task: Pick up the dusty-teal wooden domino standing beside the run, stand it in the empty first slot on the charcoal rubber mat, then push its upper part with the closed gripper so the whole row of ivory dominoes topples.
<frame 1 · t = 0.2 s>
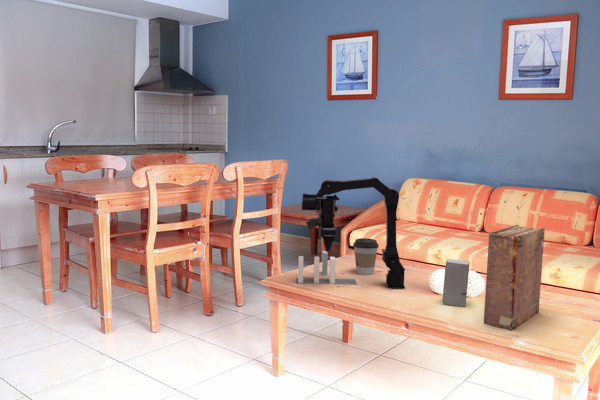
hand: (326, 249, 213), 15 cm above the table, fingers open, 9 cm apart
coffee cup: (364, 273, 233), on the table
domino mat: (325, 281, 218), on the table
book: (512, 318, 177), on the table
ivory domino 2: (332, 281, 217), resting on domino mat
teal domino: (324, 274, 230), on the table
ivory end domino: (300, 281, 217), resting on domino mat
ivory domino 3: (316, 281, 217), resting on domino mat
skincare box: (454, 303, 192), on the table
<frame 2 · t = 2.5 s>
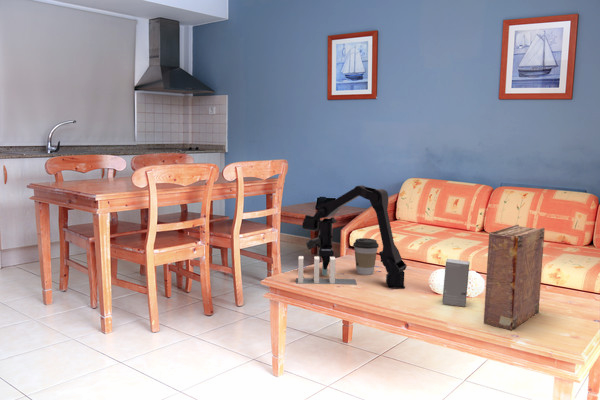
hand: (324, 267, 230), 3 cm above the table, fingers closed on teal domino, 5 cm apart
teal domino: (324, 274, 230), on the table, touching gripper
everything else where it was.
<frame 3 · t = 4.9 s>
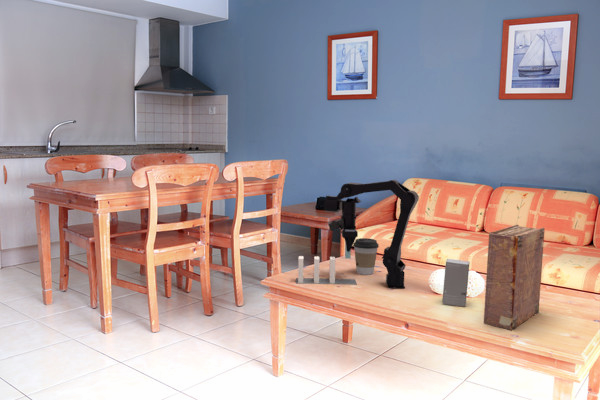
hand: (347, 250, 220), 13 cm above the table, fingers closed on teal domino, 5 cm apart
teal domino: (347, 257, 220), point 10 cm above the table, touching gripper
everything else where it was.
when the fingers open (4 cm above the table, at t = 7.7 s): teal domino stays where it is, resting on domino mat.
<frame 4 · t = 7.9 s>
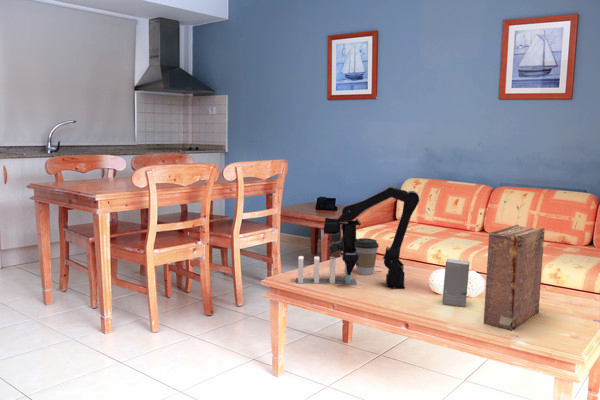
hand: (348, 272, 217), 4 cm above the table, fingers open, 7 cm apart
teal domino: (347, 282, 217), resting on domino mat
everything else where it was.
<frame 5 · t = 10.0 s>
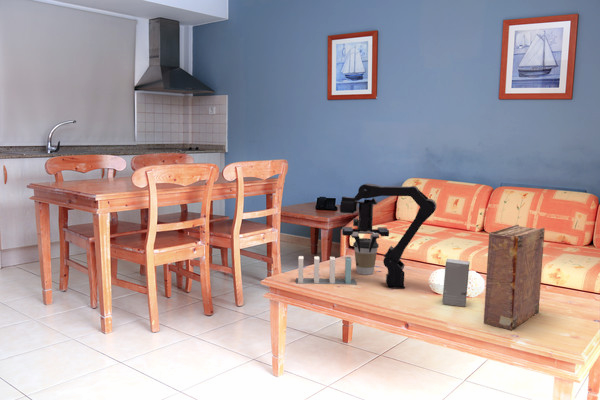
hand: (364, 252, 216), 13 cm above the table, fingers open, 4 cm apart
nothing on the table moved.
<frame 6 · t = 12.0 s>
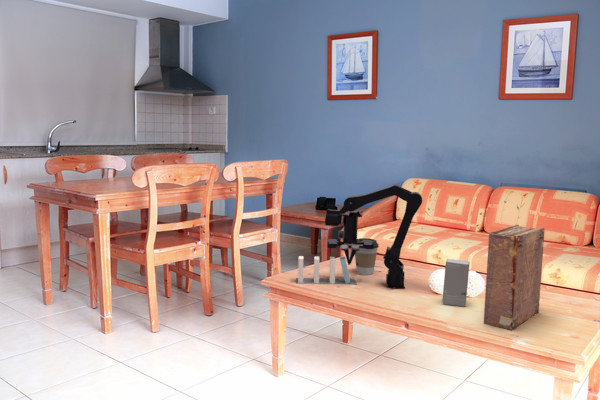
hand: (349, 264, 216), 8 cm above the table, fingers closed
teal domino: (347, 281, 217), point 1 cm above the table, tilted 14°, touching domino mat
everything else where it was.
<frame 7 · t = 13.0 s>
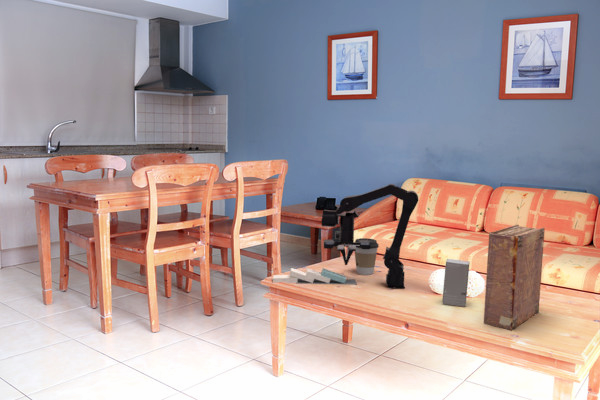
hand: (345, 265, 216), 7 cm above the table, fingers closed
ivory domino 2: (329, 279, 217), point 1 cm above the table, tilted 72°, touching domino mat, ivory domino 3, teal domino
teal domino: (345, 279, 217), point 1 cm above the table, tilted 72°, touching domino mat, ivory domino 2
ivory end domino: (297, 278, 217), point 1 cm above the table, tilted 92°, touching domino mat, ivory domino 3
ivory domino 3: (313, 279, 217), point 1 cm above the table, tilted 72°, touching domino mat, ivory domino 2, ivory end domino
everything else where it was.
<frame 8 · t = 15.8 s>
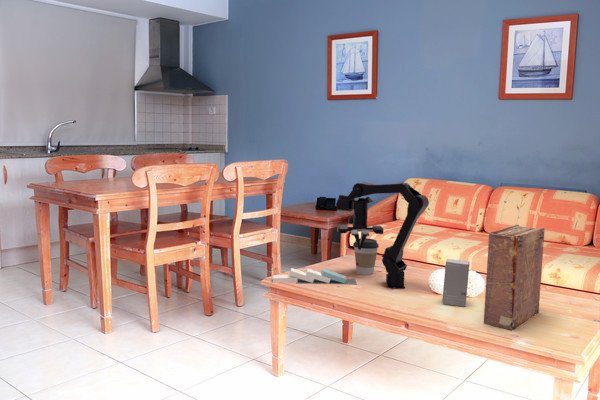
hand: (359, 249, 221), 13 cm above the table, fingers closed
nothing on the table moved.
at the end: teal domino inside the target area (0.3 cm from its centre), point 1.3 cm above the table; ivory end domino tilted 92°; the gripper is holding nothing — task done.
